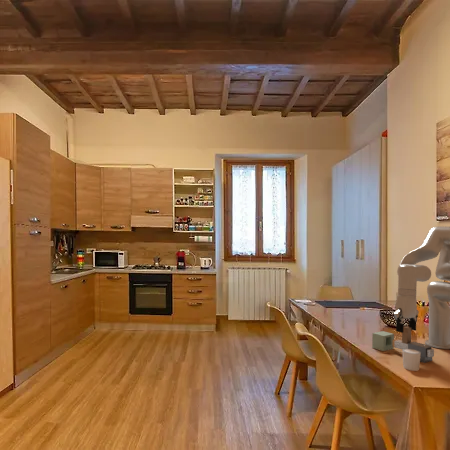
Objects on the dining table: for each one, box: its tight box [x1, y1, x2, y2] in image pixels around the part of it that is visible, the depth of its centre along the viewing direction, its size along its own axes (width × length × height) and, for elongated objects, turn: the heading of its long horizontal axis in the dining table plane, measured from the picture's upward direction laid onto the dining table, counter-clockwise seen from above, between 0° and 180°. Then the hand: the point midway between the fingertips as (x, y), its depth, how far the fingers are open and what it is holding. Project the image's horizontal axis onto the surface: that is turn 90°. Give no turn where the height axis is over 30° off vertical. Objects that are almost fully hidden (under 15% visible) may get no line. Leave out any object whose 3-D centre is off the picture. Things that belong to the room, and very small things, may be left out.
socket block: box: [371, 330, 395, 352], centre depth 184 cm, size 8×6×7 cm
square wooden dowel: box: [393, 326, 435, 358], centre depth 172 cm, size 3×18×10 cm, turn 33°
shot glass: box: [401, 349, 421, 372], centre depth 157 cm, size 7×7×7 cm
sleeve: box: [408, 341, 433, 364], centre depth 169 cm, size 6×8×6 cm
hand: (406, 330), depth 174 cm, fingers open, 9 cm apart
